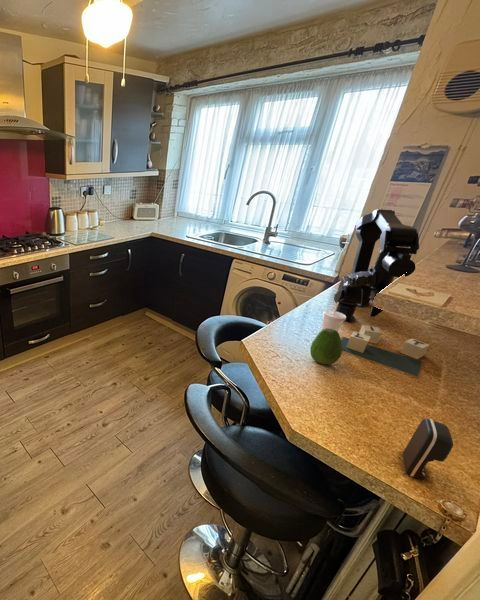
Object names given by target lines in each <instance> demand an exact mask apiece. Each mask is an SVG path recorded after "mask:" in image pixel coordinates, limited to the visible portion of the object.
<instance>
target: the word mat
mask: <svg viewBox="0 0 480 600" xmlns="http://www.w3.org/2000/svg"><path fill="white" fill-rule="evenodd" d="M349 339H350V337H346V336H343V337H342V338H341V344H342V352H345V353H348V354H350V355H353V356H357V357H359V358H362V359H365V360H369V361H372V362H374V363H376V364H381V365H383V366H385V367H389V368H392V369H394V370H398V371H399V372H404V373H406V374H409V375H413V376H415V377H418V375H419V372H420V369H421V364H422V361H421V360H419V359H415V358H413V357H410V356H407V355H404V354H403V355H402V354H400V353H397V352H393V351H391V350H387V349H383V348H380V347H377V346H375V345H371V344H369V343H368V344H367V346H366V348H365V350H364V352H363V353H362V352H359V351H356V350H353V349H350V348H347V344H348V342H349Z"/></svg>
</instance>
